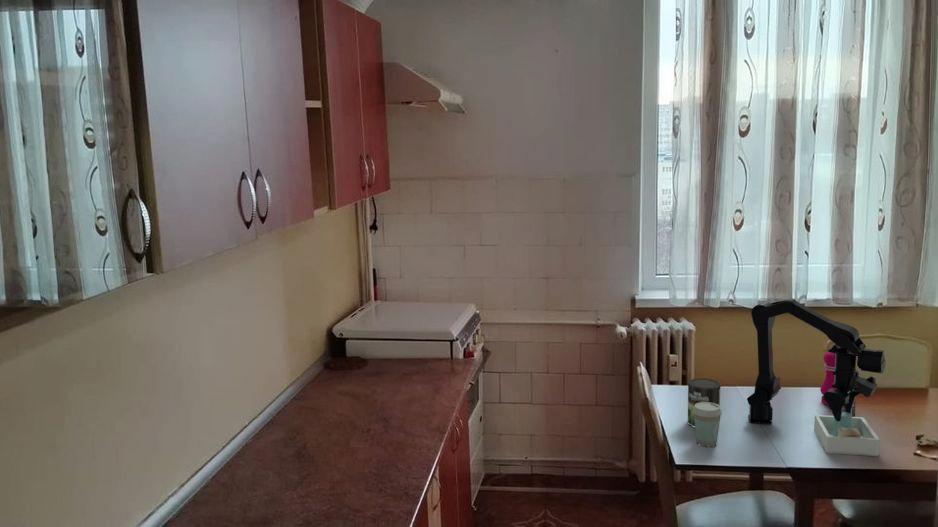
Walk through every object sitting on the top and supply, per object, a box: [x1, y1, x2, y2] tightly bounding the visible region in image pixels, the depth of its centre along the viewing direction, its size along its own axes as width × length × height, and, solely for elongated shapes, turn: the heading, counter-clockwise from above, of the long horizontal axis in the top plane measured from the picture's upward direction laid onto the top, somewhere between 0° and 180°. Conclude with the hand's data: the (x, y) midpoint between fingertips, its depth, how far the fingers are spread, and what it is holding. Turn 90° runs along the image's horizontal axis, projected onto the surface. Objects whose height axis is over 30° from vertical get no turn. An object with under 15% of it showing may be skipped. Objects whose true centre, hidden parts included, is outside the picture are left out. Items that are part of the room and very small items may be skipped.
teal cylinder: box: [833, 412, 852, 436], centre depth 227 cm, size 5×5×7 cm
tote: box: [813, 414, 881, 457], centre depth 223 cm, size 14×18×5 cm
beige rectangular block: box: [838, 427, 861, 438], centre depth 219 cm, size 5×5×5 cm
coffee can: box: [687, 377, 722, 426], centre depth 241 cm, size 10×10×14 cm
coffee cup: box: [693, 402, 723, 448], centre depth 226 cm, size 9×8×12 cm
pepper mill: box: [819, 351, 837, 406], centre depth 255 cm, size 7×7×20 cm
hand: (843, 416), depth 226 cm, fingers open, 9 cm apart
